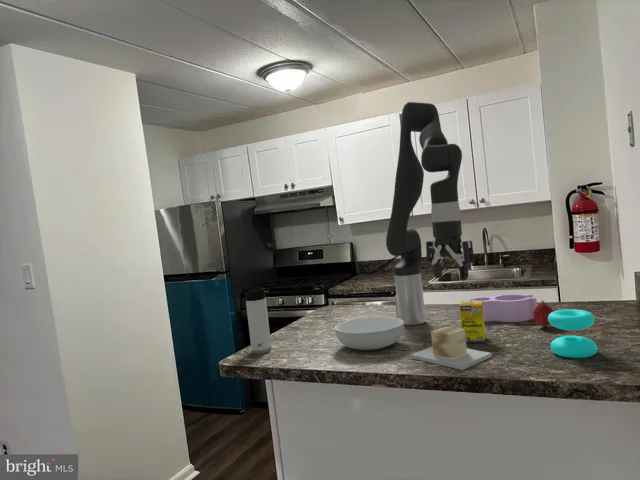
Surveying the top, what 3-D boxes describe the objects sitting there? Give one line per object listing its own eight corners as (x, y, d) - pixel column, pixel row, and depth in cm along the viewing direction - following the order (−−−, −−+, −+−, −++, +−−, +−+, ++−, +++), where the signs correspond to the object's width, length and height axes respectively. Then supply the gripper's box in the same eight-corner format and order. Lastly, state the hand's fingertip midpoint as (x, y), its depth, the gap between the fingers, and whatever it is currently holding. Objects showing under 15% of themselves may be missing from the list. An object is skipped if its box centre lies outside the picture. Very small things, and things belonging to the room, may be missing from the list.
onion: (558, 329, 132) (555, 301, 131) (537, 330, 133) (534, 303, 132) (552, 324, 137) (550, 298, 137) (532, 325, 138) (529, 299, 138)
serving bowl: (420, 340, 136) (417, 318, 135) (377, 361, 121) (374, 335, 121) (366, 334, 150) (363, 313, 150) (322, 351, 135) (319, 329, 135)
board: (411, 358, 120) (411, 354, 120) (440, 347, 127) (440, 343, 127) (462, 370, 107) (461, 365, 107) (491, 356, 114) (491, 352, 114)
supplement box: (462, 343, 128) (459, 305, 127) (464, 337, 133) (460, 301, 133) (485, 343, 126) (481, 304, 125) (486, 337, 131) (482, 300, 131)
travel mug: (264, 354, 139) (256, 290, 138) (247, 353, 142) (240, 290, 142) (276, 348, 144) (269, 286, 143) (260, 347, 148) (253, 287, 147)
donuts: (597, 309, 110) (590, 318, 103) (601, 349, 111) (593, 361, 103) (553, 307, 117) (542, 316, 109) (556, 345, 117) (546, 357, 110)
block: (433, 354, 118) (430, 331, 117) (447, 348, 121) (445, 326, 121) (452, 358, 113) (449, 334, 112) (466, 352, 116) (464, 329, 116)
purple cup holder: (473, 324, 148) (471, 303, 148) (471, 315, 160) (469, 296, 160) (540, 321, 143) (538, 299, 143) (532, 312, 155) (530, 292, 155)
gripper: (416, 221, 125) (421, 279, 126) (458, 219, 114) (463, 283, 115) (435, 219, 130) (440, 275, 130) (477, 217, 118) (482, 278, 119)
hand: (451, 279), depth 122 cm, fingers open, 8 cm apart
